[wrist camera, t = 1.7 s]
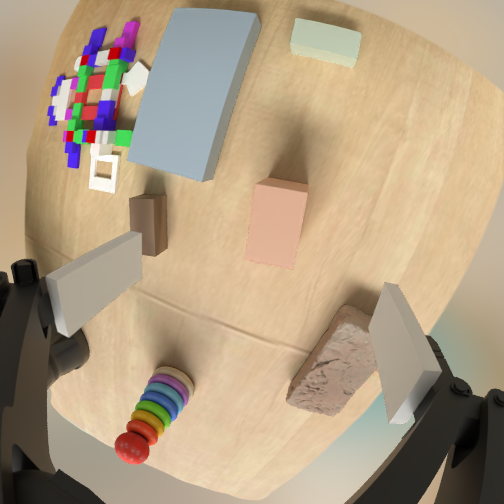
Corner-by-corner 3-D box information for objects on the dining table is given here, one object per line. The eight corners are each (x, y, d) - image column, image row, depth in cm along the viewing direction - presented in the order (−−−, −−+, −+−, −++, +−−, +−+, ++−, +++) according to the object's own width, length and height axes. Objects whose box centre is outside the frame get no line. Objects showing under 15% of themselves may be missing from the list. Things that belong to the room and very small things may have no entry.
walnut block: (145, 244, 37) (132, 253, 34) (144, 193, 35) (129, 198, 32) (168, 247, 37) (155, 256, 33) (167, 195, 34) (153, 199, 31)
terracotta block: (259, 236, 34) (244, 260, 26) (268, 177, 31) (255, 184, 24) (297, 243, 33) (293, 269, 26) (307, 184, 31) (307, 193, 23)
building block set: (69, 39, 29) (51, 34, 25) (170, 20, 27) (154, 8, 23) (46, 178, 38) (27, 182, 34) (136, 195, 36) (116, 201, 31)
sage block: (352, 68, 25) (357, 59, 22) (291, 54, 26) (289, 43, 23) (357, 44, 24) (361, 33, 21) (297, 30, 25) (295, 17, 22)
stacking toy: (204, 386, 44) (161, 474, 26) (181, 401, 47) (140, 479, 29) (167, 357, 43) (110, 440, 26) (147, 375, 46) (96, 449, 29)
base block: (144, 159, 34) (126, 160, 30) (188, 19, 26) (175, 7, 23) (213, 178, 33) (201, 182, 29) (262, 27, 26) (256, 13, 22)
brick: (341, 300, 35) (344, 320, 30) (393, 322, 34) (400, 343, 30) (286, 383, 41) (283, 404, 37) (333, 398, 40) (333, 420, 36)
